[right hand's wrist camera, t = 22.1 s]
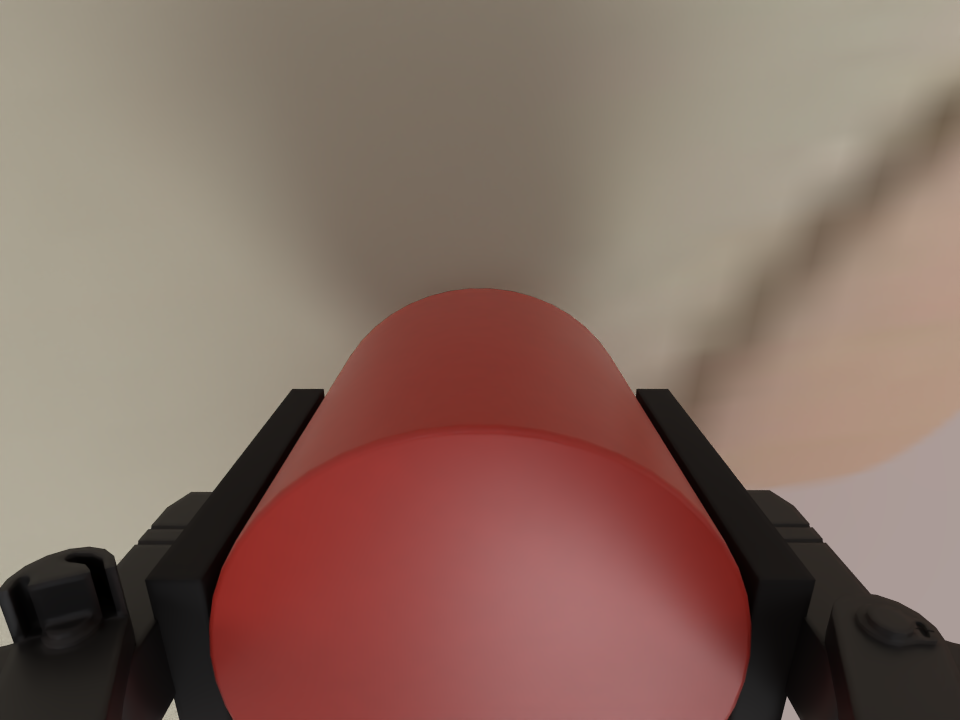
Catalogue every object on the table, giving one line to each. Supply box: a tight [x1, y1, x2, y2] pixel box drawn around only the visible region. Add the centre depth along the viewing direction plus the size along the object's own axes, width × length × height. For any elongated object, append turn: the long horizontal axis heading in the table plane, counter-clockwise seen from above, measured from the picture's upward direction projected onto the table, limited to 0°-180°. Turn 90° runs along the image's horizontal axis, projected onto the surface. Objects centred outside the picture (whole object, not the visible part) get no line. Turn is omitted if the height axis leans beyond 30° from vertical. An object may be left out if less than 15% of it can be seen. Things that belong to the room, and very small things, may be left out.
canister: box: [209, 289, 751, 720], centre depth 11 cm, size 8×8×7 cm
